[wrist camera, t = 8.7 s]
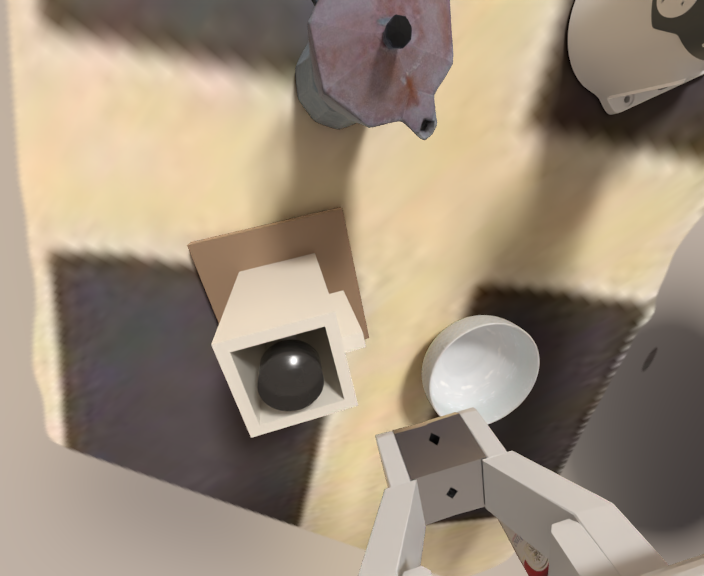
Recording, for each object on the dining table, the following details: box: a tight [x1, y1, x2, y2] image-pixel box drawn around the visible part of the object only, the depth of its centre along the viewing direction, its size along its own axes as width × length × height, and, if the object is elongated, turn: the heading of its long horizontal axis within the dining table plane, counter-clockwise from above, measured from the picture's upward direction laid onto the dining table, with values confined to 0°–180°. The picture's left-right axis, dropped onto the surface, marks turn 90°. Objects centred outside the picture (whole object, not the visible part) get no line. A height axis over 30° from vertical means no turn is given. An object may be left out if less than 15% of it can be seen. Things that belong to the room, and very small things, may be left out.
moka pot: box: [296, 0, 453, 140], centre depth 27 cm, size 10×15×20 cm, turn 40°
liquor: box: [498, 519, 549, 576], centre depth 50 cm, size 7×7×28 cm
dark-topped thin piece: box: [257, 334, 324, 411], centre depth 33 cm, size 6×6×17 cm
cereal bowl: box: [421, 315, 540, 424], centre depth 49 cm, size 17×17×7 cm
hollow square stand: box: [187, 207, 369, 438], centre depth 35 cm, size 18×18×18 cm
